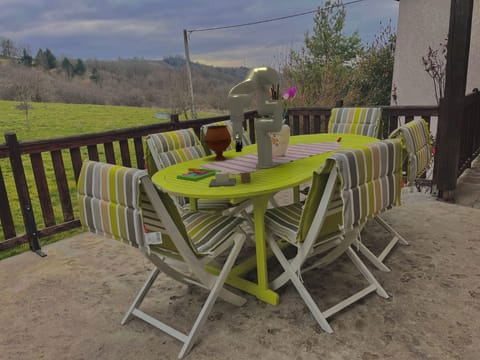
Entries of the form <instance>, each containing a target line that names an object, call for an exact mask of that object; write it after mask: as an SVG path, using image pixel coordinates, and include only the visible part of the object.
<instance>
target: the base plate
mask: <svg viewBox="0 0 480 360" xmlns="http://www.w3.org/2000/svg"><path fill="white" fill-rule="evenodd" d="M236 180H237V178H236V177H229V182H226V183H216V178H212V179H211V180H210V182H209V184H208V188H219V187H220V186H224V187H235V186H236ZM220 188H221V187H220Z"/></svg>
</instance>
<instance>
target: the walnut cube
mask: <svg viewBox="0 0 480 360" xmlns="http://www.w3.org/2000/svg"><path fill="white" fill-rule="evenodd" d="M251 179H252V178H251V172H250V171H249V172H241V173H240V181H241V183H243V184H251V183H250V182H251Z"/></svg>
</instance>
